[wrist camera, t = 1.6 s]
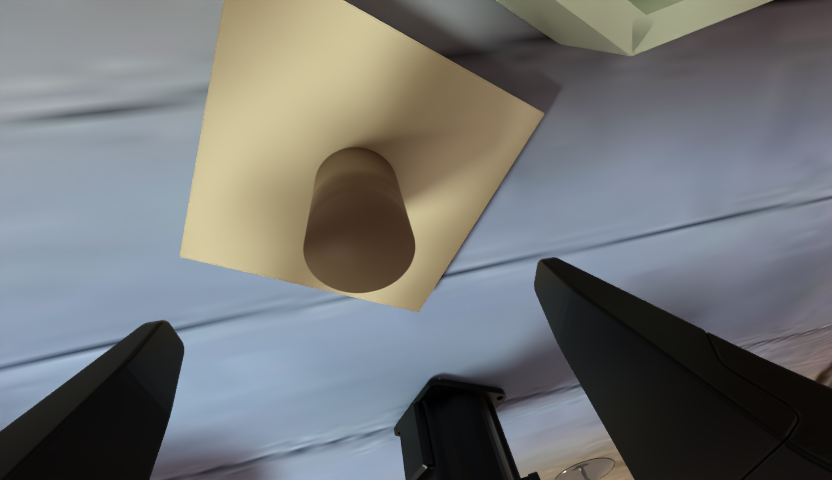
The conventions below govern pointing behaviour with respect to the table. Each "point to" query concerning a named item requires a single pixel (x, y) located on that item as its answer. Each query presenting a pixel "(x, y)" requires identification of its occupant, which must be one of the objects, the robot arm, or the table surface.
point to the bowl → (623, 20)
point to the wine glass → (588, 470)
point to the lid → (343, 152)
